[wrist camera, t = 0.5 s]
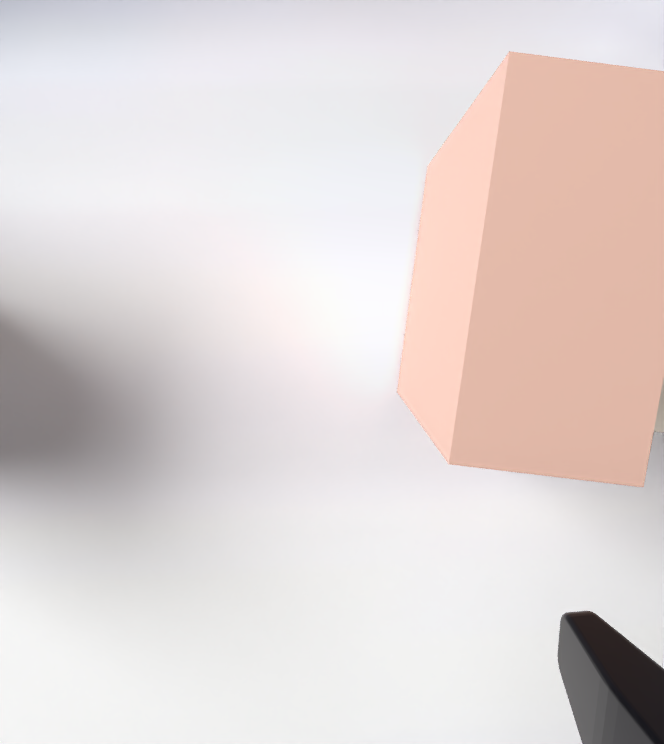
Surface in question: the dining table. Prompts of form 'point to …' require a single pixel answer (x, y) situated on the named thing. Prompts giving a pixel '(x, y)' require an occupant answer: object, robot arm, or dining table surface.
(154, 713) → the dining table surface
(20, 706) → the dining table surface
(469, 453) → the pink rectangular block
